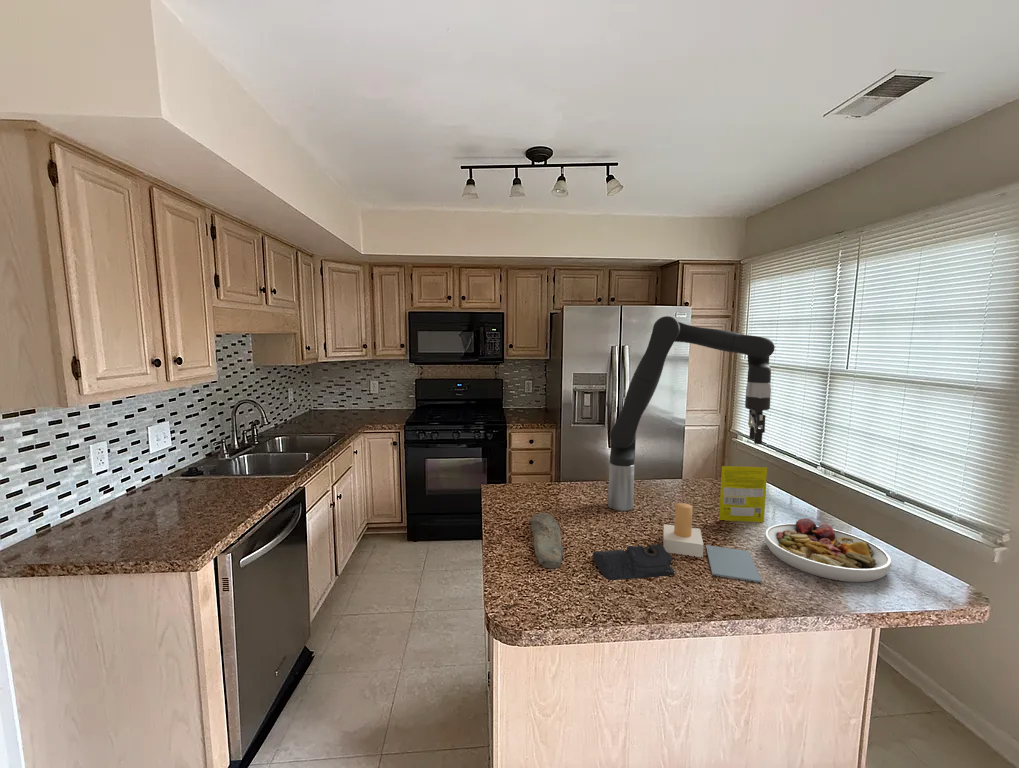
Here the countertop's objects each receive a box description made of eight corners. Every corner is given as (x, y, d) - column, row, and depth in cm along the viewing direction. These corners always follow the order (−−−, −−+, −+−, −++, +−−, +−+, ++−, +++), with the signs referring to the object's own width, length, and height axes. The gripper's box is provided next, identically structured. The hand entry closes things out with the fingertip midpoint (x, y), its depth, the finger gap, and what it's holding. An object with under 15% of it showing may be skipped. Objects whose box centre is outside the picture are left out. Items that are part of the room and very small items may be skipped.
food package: (763, 521, 157) (766, 467, 156) (764, 523, 156) (767, 467, 154) (718, 519, 159) (721, 465, 157) (719, 521, 158) (722, 466, 156)
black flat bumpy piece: (586, 556, 132) (587, 540, 132) (655, 551, 136) (656, 536, 135) (605, 583, 117) (605, 566, 117) (682, 577, 120) (683, 560, 120)
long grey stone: (532, 574, 124) (567, 576, 124) (533, 556, 123) (569, 558, 123) (528, 518, 158) (555, 520, 158) (529, 504, 158) (556, 506, 158)
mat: (712, 575, 121) (712, 573, 120) (705, 546, 138) (705, 545, 137) (761, 583, 117) (761, 581, 117) (748, 552, 134) (749, 551, 134)
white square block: (663, 551, 134) (664, 539, 134) (663, 535, 145) (663, 524, 145) (702, 557, 130) (703, 544, 130) (699, 540, 142) (700, 528, 141)
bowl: (918, 593, 113) (920, 564, 112) (789, 581, 118) (791, 553, 117) (850, 542, 142) (852, 518, 141) (749, 534, 147) (751, 511, 147)
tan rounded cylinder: (674, 536, 136) (675, 507, 135) (673, 529, 141) (674, 502, 140) (691, 538, 134) (693, 509, 134) (690, 531, 139) (691, 504, 138)
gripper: (742, 392, 160) (739, 436, 162) (749, 397, 147) (747, 444, 148) (765, 393, 158) (763, 438, 160) (775, 398, 145) (772, 446, 146)
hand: (755, 441), depth 154 cm, fingers open, 8 cm apart
